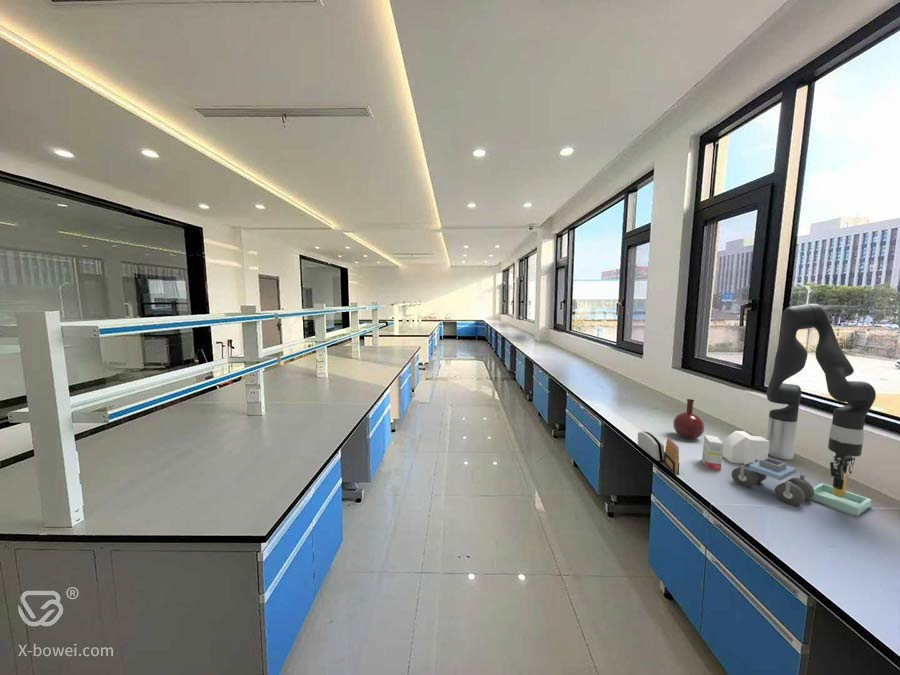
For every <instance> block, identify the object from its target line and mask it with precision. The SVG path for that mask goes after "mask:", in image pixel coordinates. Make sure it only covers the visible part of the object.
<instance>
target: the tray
mask: <svg viewBox="0 0 900 675" xmlns="http://www.w3.org/2000/svg"><path fill="white" fill-rule="evenodd" d="M812 487H813V489H814V495H813V496H812V497H811V498H809V499H808V500H811V501H813V502H816V503H819V504H822V505H824V506H826V507H829V508H831V509H835V510H837V511H840V512H843V513H846V514H847V515H850V516H854V517H856V518H858V517H860V516H861V515H863V514H864V512H866V511H867V510H869V509H870V508H871V504H872V499H871V498H868V497H865V496H862V495H859V494H856V493H853V492H850V491H847V490H846V491H845V498H841V497H837V496H835V495H833V485H829V484H827V483H824V482H823V483H822V482H821V483H818V484H817V485H815V486H812Z"/></svg>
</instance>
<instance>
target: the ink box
mask: <svg viewBox="0 0 900 675" xmlns="http://www.w3.org/2000/svg"><path fill="white" fill-rule="evenodd" d="M722 452H723V441H721V440H720V438H719V437H718V436H715V435H707V434H704V435H703V445H702V458H701V461H702V463H703V464H704V466H705V467H706V468H707V469H709V470H715V471H721V470H722V462H723V460H722V459H723V456H722Z"/></svg>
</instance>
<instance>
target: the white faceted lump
mask: <svg viewBox="0 0 900 675" xmlns="http://www.w3.org/2000/svg"><path fill="white" fill-rule="evenodd" d="M722 443H723V452H722V458H724V459H726V460H727V461H729V462H730V463H733V464H742V463H743V464H744V465H745V464H748V463H755V459H758V460H759V461H760V460H761V459H763V458H766V457H769V455H768V451H769V441H768V440H767V438H764V437H763V436H761V435H760V436H757V435H751V434H749V433H748V432H746V431H744V430H743V431H741V430H734V431H733V432H732V433H731V434H729V435H728V436H726V437H724V438H723V439H722ZM743 464H742V465H743Z"/></svg>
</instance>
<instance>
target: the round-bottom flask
mask: <svg viewBox="0 0 900 675" xmlns="http://www.w3.org/2000/svg"><path fill="white" fill-rule="evenodd" d="M686 402H687V403H686V411H685V412H681V413H678V414H677V415H676V416H675V417H674V419H673V422H672V426H673V429H674V431H675V432H676V433H677V435H678V436H680V437H682V438H683V439H687V440H694V439H699V438H700V437H701V436H702V435H703V433H704V432H705V422H704V421H703V419H702V418H701V417H700V416H699V415H697V414H696V413H693V412H694V402H695V399H692V398H691V399H689V398H687V399H686Z"/></svg>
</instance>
